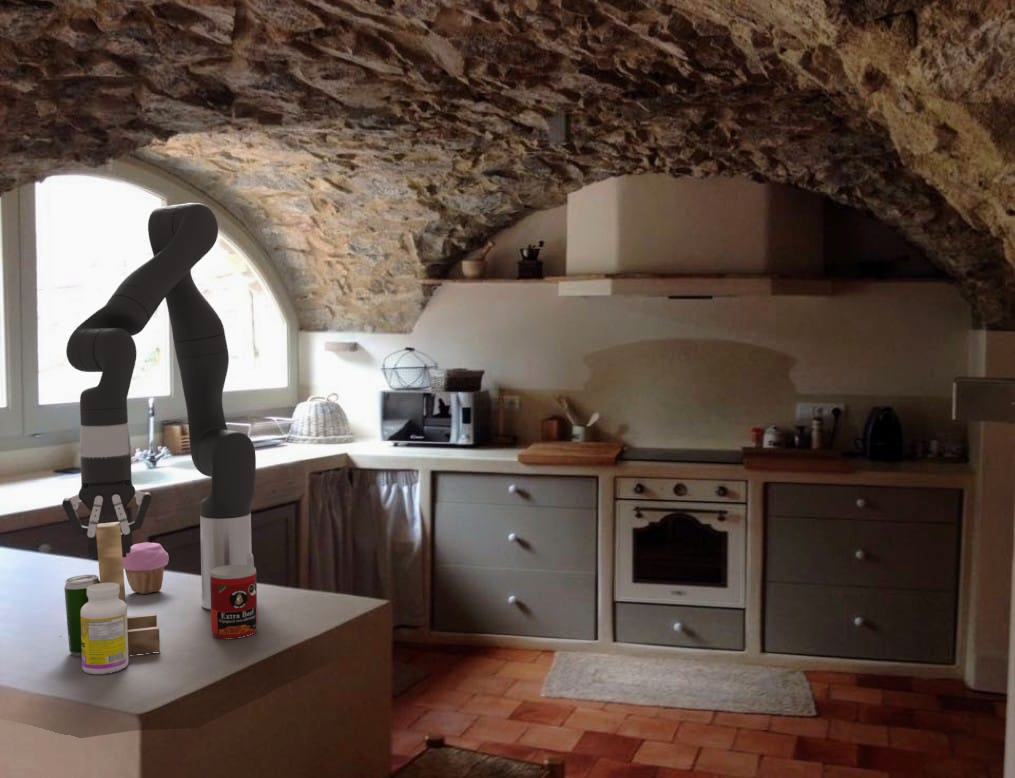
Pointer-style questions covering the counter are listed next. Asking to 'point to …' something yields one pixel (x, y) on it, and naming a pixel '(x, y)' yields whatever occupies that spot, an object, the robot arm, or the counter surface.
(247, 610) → the canned food
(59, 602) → the counter surface
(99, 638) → the supplement bottle
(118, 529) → the bar
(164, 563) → the cupcake
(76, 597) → the beer can
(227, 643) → the counter surface
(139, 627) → the channel
